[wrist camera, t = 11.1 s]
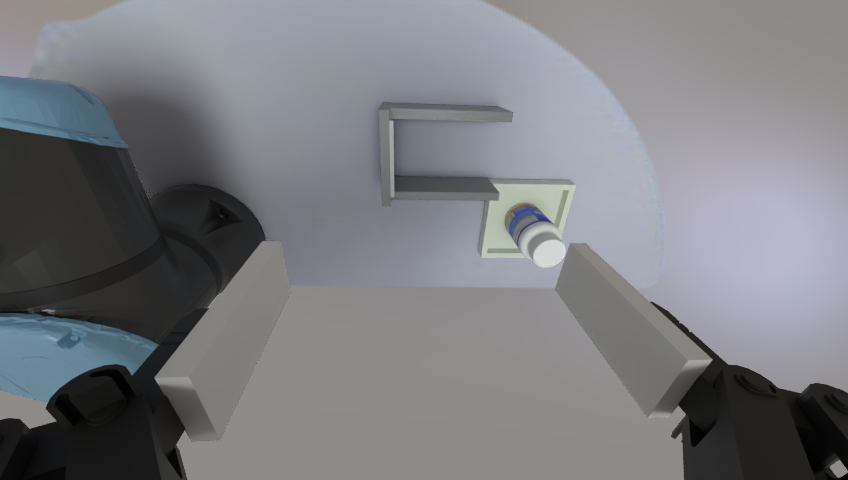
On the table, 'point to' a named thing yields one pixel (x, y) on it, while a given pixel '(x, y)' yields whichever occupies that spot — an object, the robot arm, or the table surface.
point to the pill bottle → (535, 235)
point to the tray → (541, 193)
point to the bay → (432, 186)
